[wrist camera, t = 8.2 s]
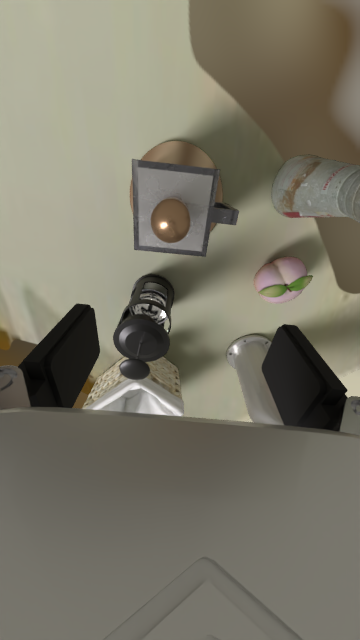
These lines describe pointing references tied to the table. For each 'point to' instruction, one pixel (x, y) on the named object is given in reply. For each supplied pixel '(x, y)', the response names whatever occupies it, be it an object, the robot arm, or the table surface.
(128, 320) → the french press
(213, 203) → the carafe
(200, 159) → the coaster
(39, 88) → the table surface
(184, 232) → the plunger
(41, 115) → the table surface
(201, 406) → the table surface
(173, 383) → the storage basket
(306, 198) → the bottle
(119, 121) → the table surface
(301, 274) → the decorative fruit
